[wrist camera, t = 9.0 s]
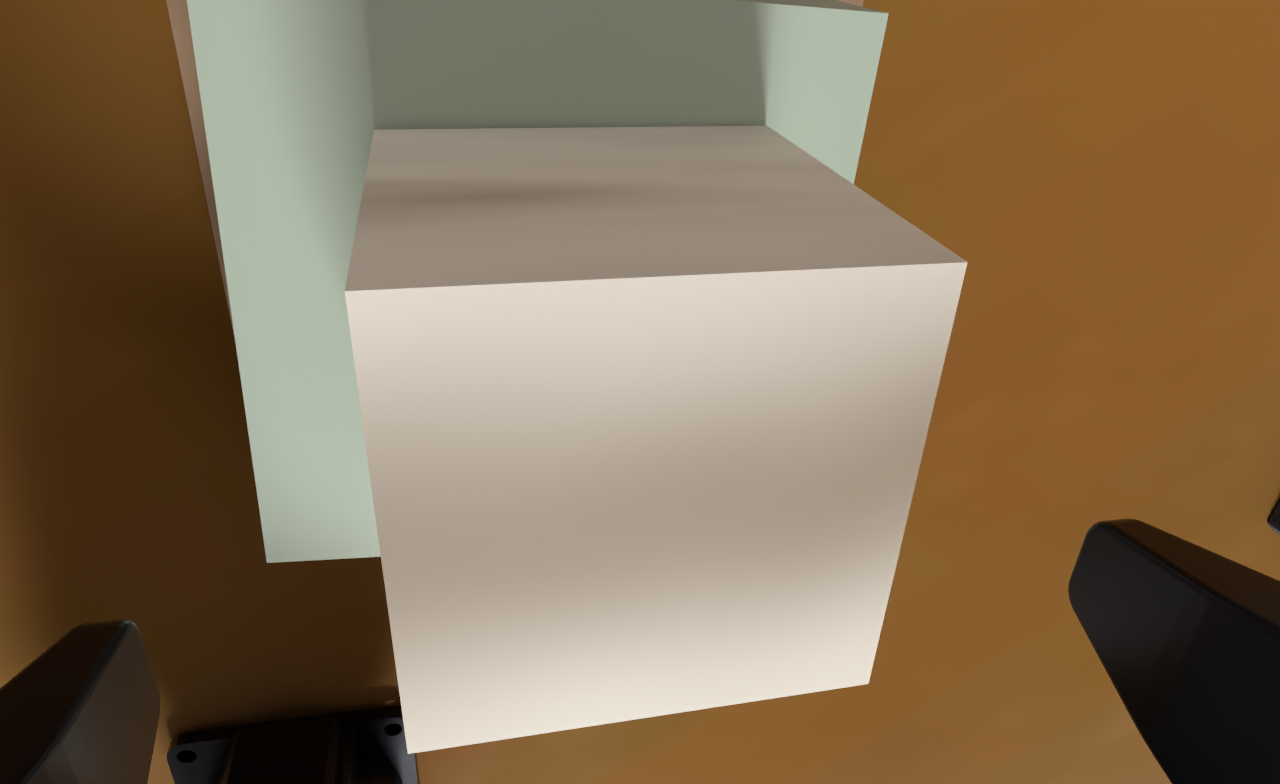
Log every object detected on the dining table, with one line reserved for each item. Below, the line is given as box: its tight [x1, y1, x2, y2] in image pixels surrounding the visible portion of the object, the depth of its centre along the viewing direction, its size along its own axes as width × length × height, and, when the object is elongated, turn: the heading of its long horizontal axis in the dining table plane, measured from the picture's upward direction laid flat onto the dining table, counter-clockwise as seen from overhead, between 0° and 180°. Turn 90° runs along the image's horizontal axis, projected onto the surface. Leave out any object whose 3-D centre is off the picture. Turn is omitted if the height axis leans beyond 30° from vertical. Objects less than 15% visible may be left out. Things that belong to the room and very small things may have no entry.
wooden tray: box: [166, 0, 864, 344], centre depth 18 cm, size 12×12×3 cm
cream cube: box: [345, 125, 967, 754], centre depth 12 cm, size 6×6×6 cm
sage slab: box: [187, 0, 889, 563], centre depth 16 cm, size 10×10×3 cm
